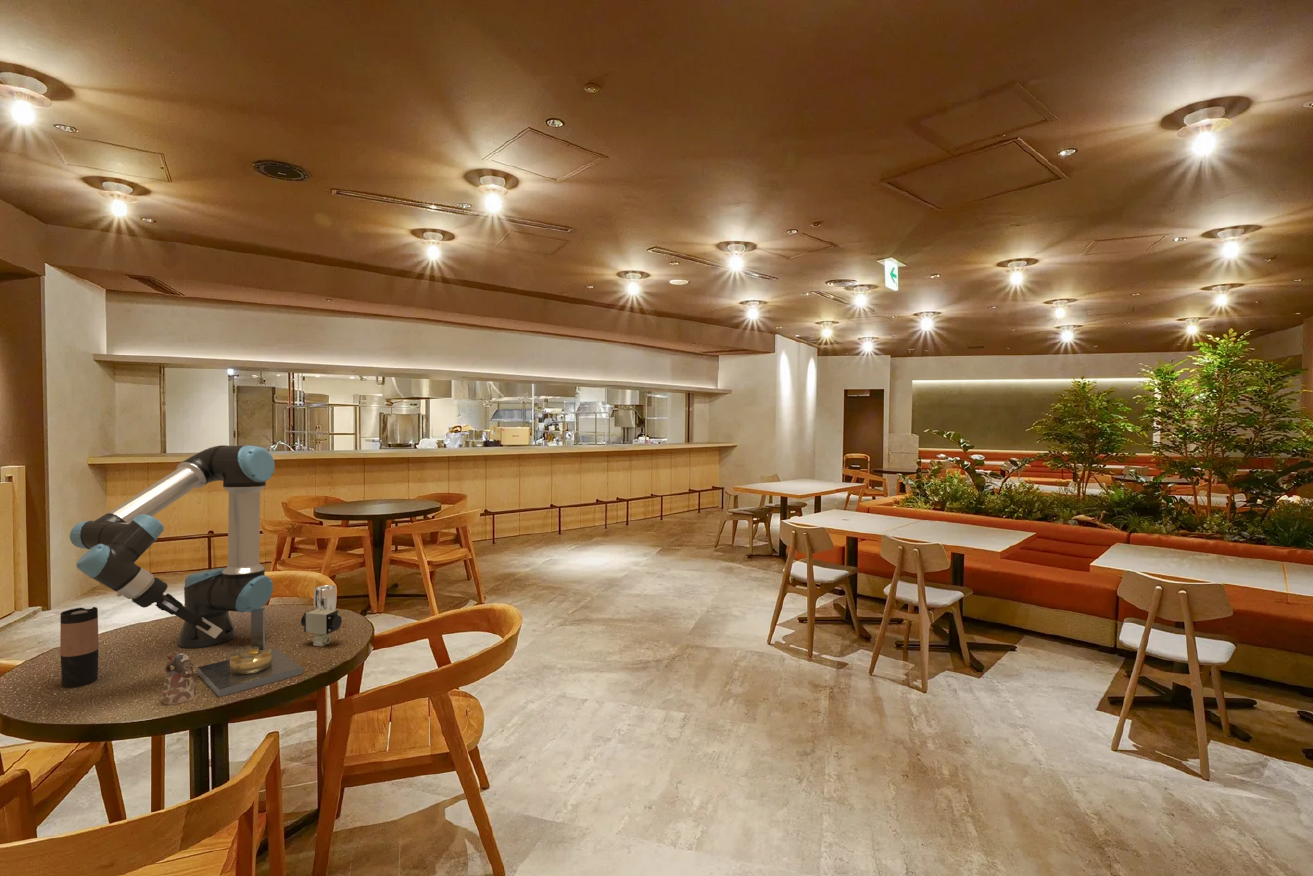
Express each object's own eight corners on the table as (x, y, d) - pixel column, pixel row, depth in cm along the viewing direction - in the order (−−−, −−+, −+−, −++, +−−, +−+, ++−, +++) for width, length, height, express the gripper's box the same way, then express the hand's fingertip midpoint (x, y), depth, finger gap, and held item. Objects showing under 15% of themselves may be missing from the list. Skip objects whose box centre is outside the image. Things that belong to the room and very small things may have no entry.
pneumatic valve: (331, 648, 194) (331, 611, 194) (300, 646, 197) (300, 609, 196) (344, 642, 200) (344, 606, 199) (313, 640, 202) (313, 604, 202)
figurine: (184, 704, 155) (183, 658, 155) (154, 705, 155) (154, 658, 154) (202, 692, 162) (202, 647, 162) (174, 693, 162) (174, 648, 161)
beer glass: (332, 625, 217) (332, 583, 216) (339, 630, 212) (339, 587, 211) (311, 630, 212) (311, 587, 212) (317, 634, 207) (317, 591, 207)
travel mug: (66, 690, 162) (65, 616, 162) (56, 684, 167) (55, 612, 166) (103, 680, 169) (102, 609, 169) (93, 674, 173) (92, 605, 173)
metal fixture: (239, 654, 183) (239, 610, 182) (278, 649, 187) (277, 606, 187) (226, 676, 167) (225, 628, 167) (268, 670, 171) (268, 624, 171)
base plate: (197, 674, 174) (197, 666, 174) (276, 654, 189) (276, 647, 189) (219, 697, 159) (219, 688, 159) (302, 674, 175) (302, 666, 174)
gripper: (125, 595, 165) (201, 640, 178) (134, 605, 157) (213, 651, 170) (150, 572, 169) (222, 617, 182) (160, 580, 160) (235, 627, 173)
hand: (218, 633), depth 176 cm, fingers closed
